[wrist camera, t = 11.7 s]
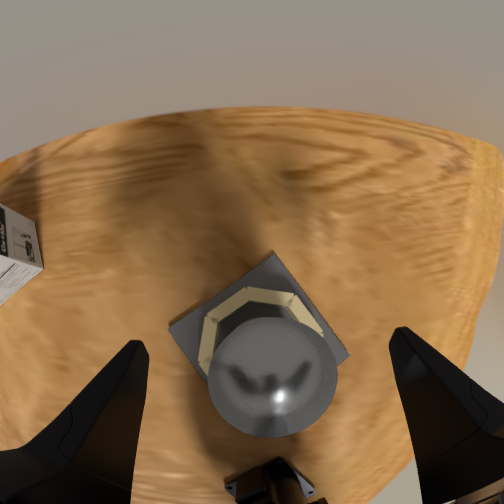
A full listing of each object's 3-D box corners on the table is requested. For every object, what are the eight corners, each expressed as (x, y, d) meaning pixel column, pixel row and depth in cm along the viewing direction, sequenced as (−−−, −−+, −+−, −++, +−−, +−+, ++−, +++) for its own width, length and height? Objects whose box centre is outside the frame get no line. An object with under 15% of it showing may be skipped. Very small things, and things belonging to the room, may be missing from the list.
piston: (303, 348, 21) (360, 379, 9) (256, 387, 20) (266, 457, 8) (263, 304, 22) (280, 290, 10) (216, 343, 21) (181, 373, 9)
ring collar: (347, 354, 21) (358, 358, 19) (245, 428, 20) (245, 439, 17) (274, 255, 23) (277, 247, 21) (169, 328, 22) (160, 329, 19)
